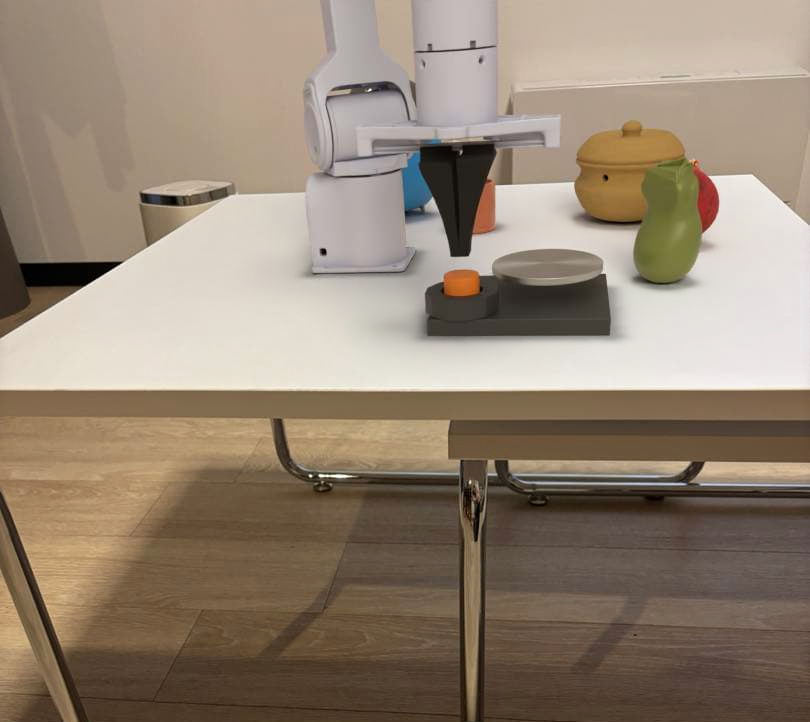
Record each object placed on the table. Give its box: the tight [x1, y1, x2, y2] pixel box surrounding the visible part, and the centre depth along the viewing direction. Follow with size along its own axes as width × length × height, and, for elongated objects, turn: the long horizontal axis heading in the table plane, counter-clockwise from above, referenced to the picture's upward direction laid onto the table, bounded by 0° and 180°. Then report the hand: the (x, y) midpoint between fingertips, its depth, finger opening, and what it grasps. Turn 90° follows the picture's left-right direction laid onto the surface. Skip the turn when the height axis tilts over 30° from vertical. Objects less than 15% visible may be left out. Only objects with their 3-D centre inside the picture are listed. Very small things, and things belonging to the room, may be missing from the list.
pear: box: [632, 157, 703, 284], centre depth 70 cm, size 6×5×10 cm
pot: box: [573, 119, 686, 223], centre depth 91 cm, size 12×12×10 cm
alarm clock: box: [348, 79, 442, 215], centre depth 100 cm, size 13×6×15 cm, turn 40°
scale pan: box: [491, 248, 604, 286], centre depth 68 cm, size 9×9×1 cm
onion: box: [688, 158, 720, 235], centre depth 80 cm, size 6×6×8 cm
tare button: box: [443, 268, 480, 296], centre depth 65 cm, size 3×3×2 cm
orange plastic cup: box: [472, 177, 497, 235], centre depth 93 cm, size 5×5×5 cm
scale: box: [424, 273, 612, 337], centre depth 68 cm, size 14×12×3 cm
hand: (460, 253), depth 63 cm, fingers closed
